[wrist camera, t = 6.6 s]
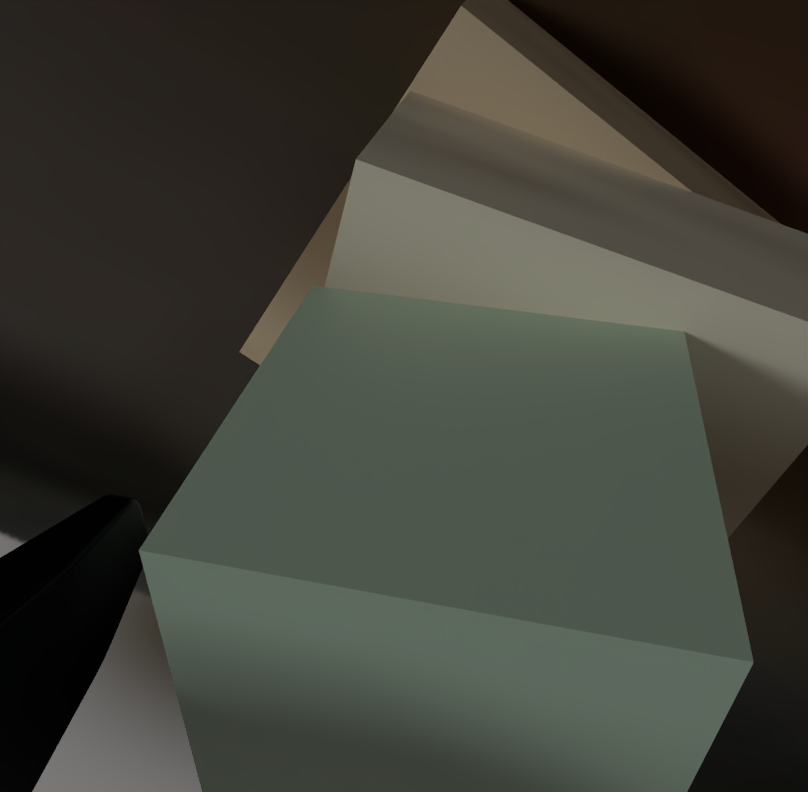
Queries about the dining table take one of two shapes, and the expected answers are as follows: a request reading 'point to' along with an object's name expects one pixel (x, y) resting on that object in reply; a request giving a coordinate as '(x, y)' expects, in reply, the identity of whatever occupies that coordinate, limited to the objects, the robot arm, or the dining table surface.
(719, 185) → the oak slab
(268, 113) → the dining table surface
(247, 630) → the sage cube
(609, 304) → the birch slab
